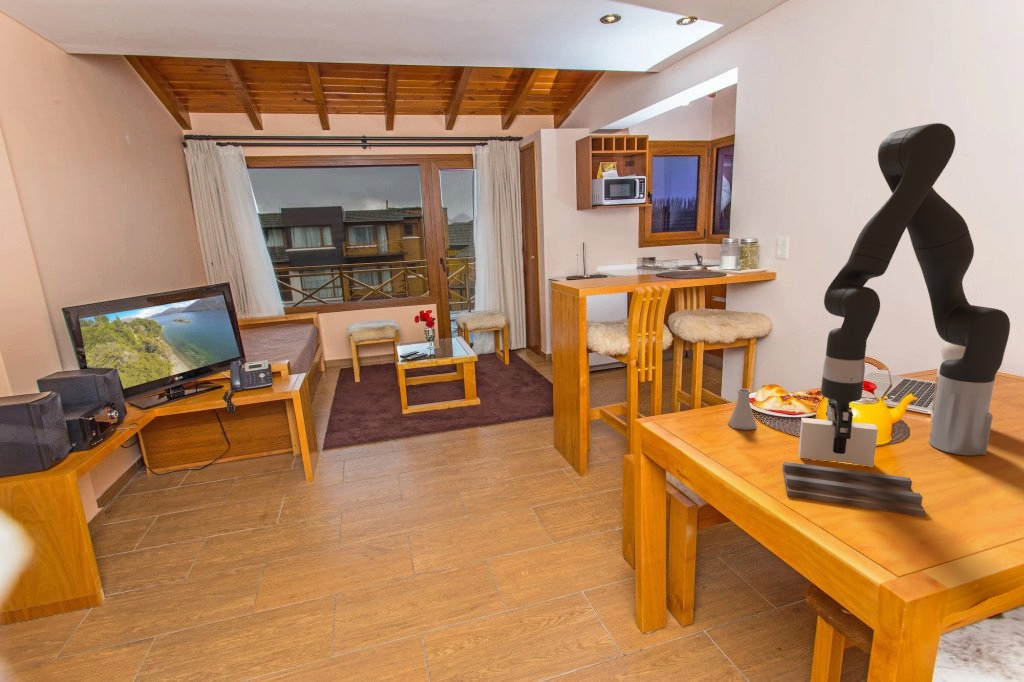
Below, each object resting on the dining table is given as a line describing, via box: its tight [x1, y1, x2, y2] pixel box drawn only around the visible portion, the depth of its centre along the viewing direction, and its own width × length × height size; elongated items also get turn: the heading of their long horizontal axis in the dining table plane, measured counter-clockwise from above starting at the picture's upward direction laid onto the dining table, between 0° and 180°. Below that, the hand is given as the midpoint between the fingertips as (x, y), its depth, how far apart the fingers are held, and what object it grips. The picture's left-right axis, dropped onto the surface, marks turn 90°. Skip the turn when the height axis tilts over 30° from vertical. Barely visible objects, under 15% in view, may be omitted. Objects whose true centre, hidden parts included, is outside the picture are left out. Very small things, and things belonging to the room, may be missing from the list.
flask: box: [727, 388, 757, 431], centre depth 132 cm, size 7×7×10 cm
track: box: [782, 461, 926, 518], centre depth 99 cm, size 22×12×3 cm, turn 66°
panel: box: [798, 417, 879, 468], centre depth 111 cm, size 14×3×9 cm, turn 66°
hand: (835, 445), depth 111 cm, fingers open, 8 cm apart
